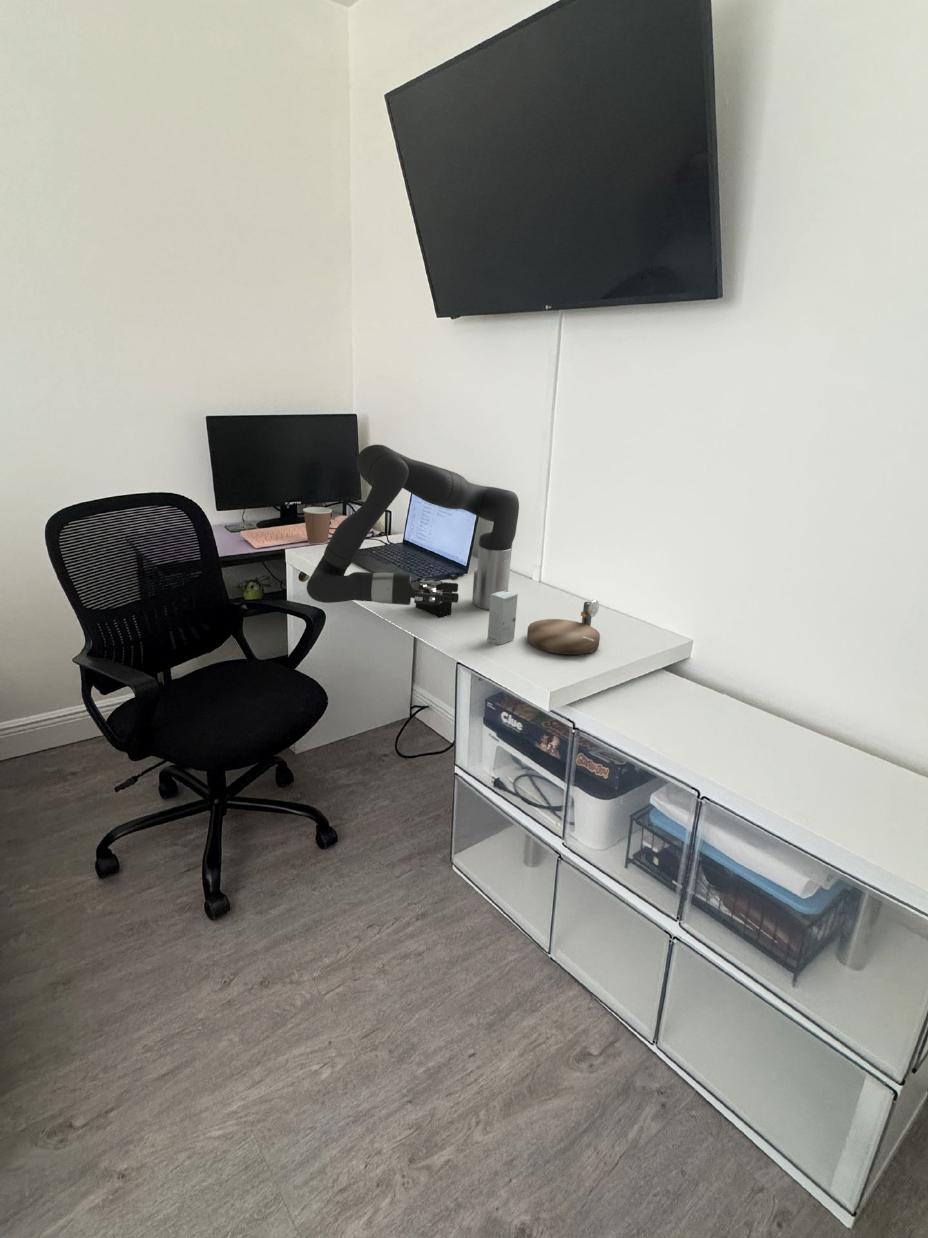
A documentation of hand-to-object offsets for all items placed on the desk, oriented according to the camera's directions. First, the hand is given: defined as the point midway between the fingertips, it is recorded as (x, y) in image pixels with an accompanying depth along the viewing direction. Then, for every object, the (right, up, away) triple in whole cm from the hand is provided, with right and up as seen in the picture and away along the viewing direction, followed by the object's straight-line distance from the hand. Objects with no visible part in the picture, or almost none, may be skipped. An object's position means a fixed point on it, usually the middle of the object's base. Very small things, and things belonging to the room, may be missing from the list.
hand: (458, 592), depth 171 cm
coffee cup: (-52, +22, +86) cm, 103 cm away
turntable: (+26, -12, +5) cm, 29 cm away
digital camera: (-7, -4, +22) cm, 24 cm away
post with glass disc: (+33, -10, +14) cm, 37 cm away
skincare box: (+11, -12, +5) cm, 17 cm away
